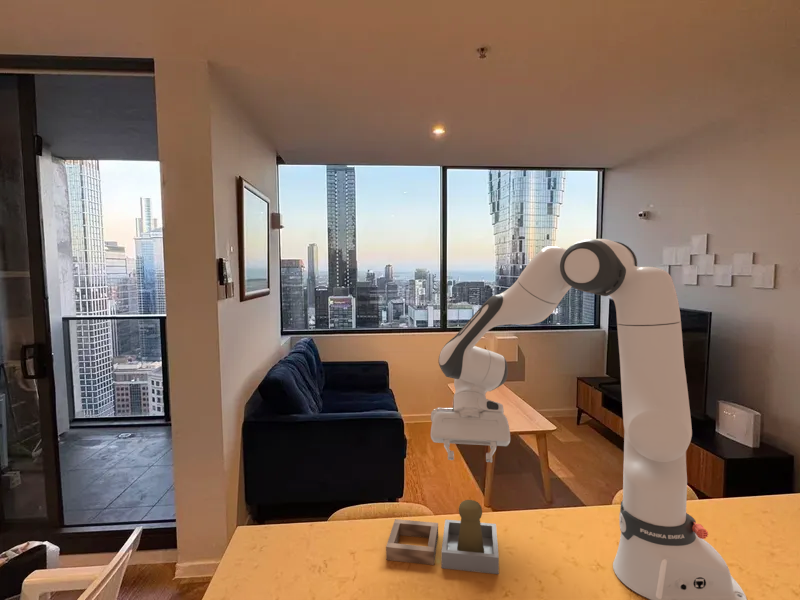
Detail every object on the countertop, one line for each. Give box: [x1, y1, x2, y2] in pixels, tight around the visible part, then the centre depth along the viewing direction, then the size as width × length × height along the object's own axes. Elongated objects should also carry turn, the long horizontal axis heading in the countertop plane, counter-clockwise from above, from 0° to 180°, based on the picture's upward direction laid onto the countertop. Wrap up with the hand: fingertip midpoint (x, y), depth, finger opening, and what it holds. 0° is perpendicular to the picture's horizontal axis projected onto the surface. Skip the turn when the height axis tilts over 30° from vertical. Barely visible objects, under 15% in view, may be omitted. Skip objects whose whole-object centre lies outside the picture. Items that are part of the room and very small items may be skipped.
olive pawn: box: [457, 499, 484, 553], centre depth 94 cm, size 6×6×11 cm
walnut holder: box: [385, 518, 439, 566], centre depth 97 cm, size 11×11×3 cm
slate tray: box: [440, 519, 500, 575], centre depth 95 cm, size 12×12×4 cm
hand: (469, 460), depth 104 cm, fingers open, 8 cm apart
